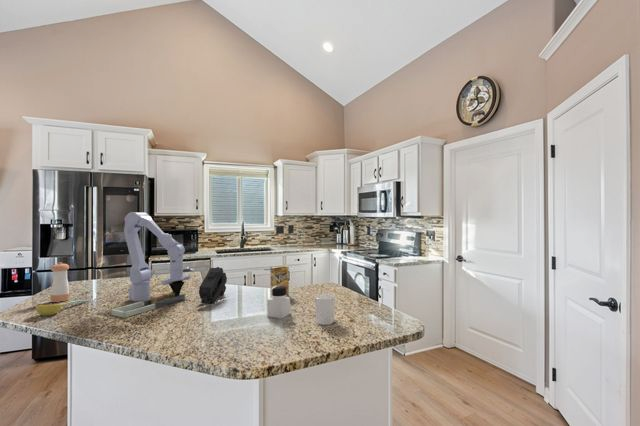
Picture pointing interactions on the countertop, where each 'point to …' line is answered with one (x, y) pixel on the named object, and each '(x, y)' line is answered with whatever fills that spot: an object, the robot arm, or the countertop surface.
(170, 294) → the brass block
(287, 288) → the candy box
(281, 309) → the medicine bottle
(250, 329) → the countertop surface
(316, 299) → the white cup
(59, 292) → the pepper shaker
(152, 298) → the copper block
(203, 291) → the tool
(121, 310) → the tray
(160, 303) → the rail
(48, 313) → the ladle
